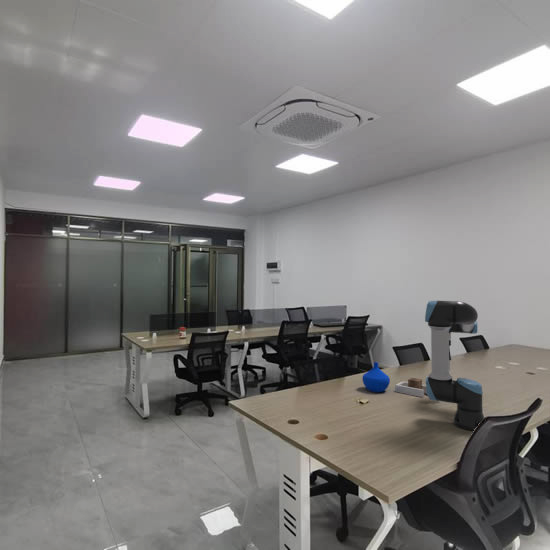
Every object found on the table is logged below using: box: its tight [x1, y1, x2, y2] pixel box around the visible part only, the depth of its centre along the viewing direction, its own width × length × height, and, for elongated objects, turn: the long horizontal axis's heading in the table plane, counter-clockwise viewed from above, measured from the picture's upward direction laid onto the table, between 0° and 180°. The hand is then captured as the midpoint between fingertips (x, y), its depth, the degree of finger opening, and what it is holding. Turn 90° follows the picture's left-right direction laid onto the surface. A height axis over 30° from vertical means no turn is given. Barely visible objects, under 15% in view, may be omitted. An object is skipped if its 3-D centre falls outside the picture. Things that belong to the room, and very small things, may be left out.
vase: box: [362, 361, 391, 393], centre depth 248 cm, size 18×18×19 cm
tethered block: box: [407, 377, 428, 396], centre depth 237 cm, size 25×7×10 cm, turn 49°
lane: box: [394, 381, 427, 398], centre depth 244 cm, size 19×13×4 cm
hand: (444, 372), depth 231 cm, fingers open, 13 cm apart
